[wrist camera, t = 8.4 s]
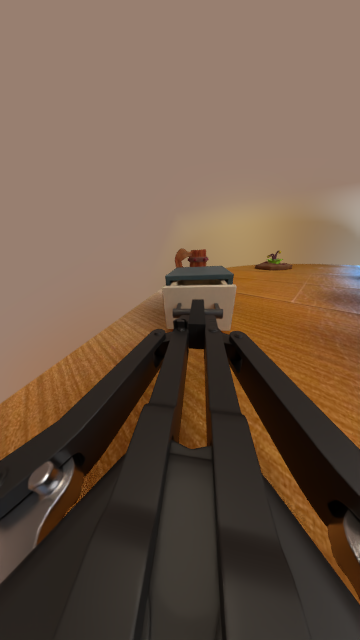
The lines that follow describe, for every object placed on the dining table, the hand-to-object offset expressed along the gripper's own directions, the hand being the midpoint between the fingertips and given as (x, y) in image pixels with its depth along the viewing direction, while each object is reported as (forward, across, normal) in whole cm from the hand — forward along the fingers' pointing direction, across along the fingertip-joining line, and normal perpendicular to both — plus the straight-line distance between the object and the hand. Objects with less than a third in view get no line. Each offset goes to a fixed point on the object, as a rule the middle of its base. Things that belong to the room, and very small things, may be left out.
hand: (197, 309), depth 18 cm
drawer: (+9, 0, -6) cm, 11 cm away
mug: (+46, -3, -7) cm, 47 cm away
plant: (+93, +52, -7) cm, 107 cm away
